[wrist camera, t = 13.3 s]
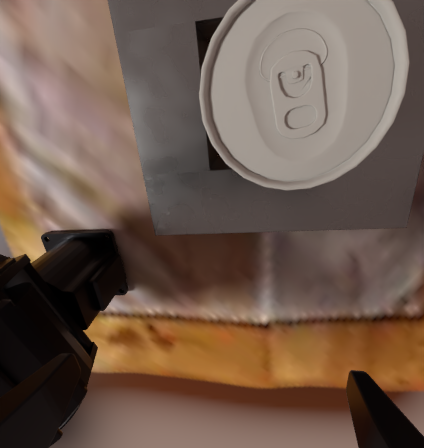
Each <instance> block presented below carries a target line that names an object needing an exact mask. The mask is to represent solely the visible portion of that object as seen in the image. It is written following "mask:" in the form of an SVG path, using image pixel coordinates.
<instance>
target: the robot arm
mask: <svg viewBox="0 0 424 448" xmlns="http://www.w3.org/2000/svg"><path fill="white" fill-rule="evenodd" d="M105 235H107V236H108V237H109V238H107V237H106V236H105ZM47 237H48V238H49V239H48V238H47ZM41 239H42V242H43V244H44V247H45V249H46V253H45V254H43V255H42V256H41V257H39V258H38V259H37V260H35V261H34V262H33V263H30V261H31V260H30V259H29V258H28V256H27V255H26V254H24V255H21V256H19V257H16V258H10V257H6V256H3V255H0V448H49V447H50V446H51V445H52V444H54V443H55V442H56V441H57V440H59V439H60V438H61V436H62V434H63V433H62V431H61V430H60V429H62V428H63V427H64V426H65V424H67V422H68V421H69V420H70V419H71V418H72V416H73V415H74V414H75V412H76V411H77V410H78V408H79V406H80V404H81V403H82V400H83V399H84V398H85V396H86V393H87V384H88V381H89V377H90V374H91V370H92V367H93V363H94V360H95V356H96V352H97V349H98V347H97V346H96V344H95V343H94V342H91V340H90V339H89V338H88V336H87V335H86V334H85V333H84V331H83V330H87V329H88V327H89V326H90V324H91V323H92V321H93V320H94V319H95V317H96V316H97V314H98V313H99V312H100V311H104V310H105V309H106V308H107V306H108V305H109V303H110V302H111V300H112V299H113V297H114V296H115V295H125V294H126V293H127V291H128V285H127V282H126V274H125V270H124V267H123V263H122V259H121V256H120V254H119V252H118V249H117V245H116V242H115V238H114V235H113V233H112V232H111V231H109V230H95V231H66V232H46V233H45V234H43V235H42V236H41ZM122 289H123V290H122ZM346 393H347V398H348V403H349V408H350V412H351V416H352V421H353V425H354V430H355V433H356V438H357V443H358V447H359V448H424V436H423V435H422V434H421V433H420V432H419V431H418V430H417V428H416V427H415V426H414V425H413V424H412V423H411V422H410V421H409V420H408V418H407V417H406V416H405V415H404V414H403V413H402V412H401V411H400V409H399V408H398V407H397V406H396V405H395V404H394V403H393V402H392V400H391V399H390V398H389V397H388V396H387V395H386V394H385V393H384V392H383V390H382V389H381V388H380V387H379V386H378V385H377V384H376V383H375V381H374V380H373V379H372V378H371V377H370V376H369V375H368V374H367V373H366V372H364V371H354V370H351V371H350V372H349V376H348V381H347V387H346Z"/></svg>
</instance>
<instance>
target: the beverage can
mask: <svg viewBox="0 0 424 448" xmlns="http://www.w3.org/2000/svg"><path fill="white" fill-rule="evenodd" d="M409 63H410V61H409V52H408V44H407V36H406V30H405V28H404V25H403V23H402V21H401V18H400V16H399V14H398V11H397V9H396V7H395V4H394V2H393V1H392V0H238V1H237V2H236V3H235V4H234V5H233V6H232V7H231V8H230V9H229V10H228V11H227V13H226V15H225V16H224V18H223V20H222V21H221V23H220V24H219V26H218V28H217V29H216V31H215V33H214V34H213V36H212V38H211V41H210V44H209V47H208V50H207V53H206V56H205V59H204V62H203V65H202V69H201V79H200V90H199V99H200V107H201V114H202V121H203V124H204V126H205V129H206V131H207V134H208V136H209V139H210V141H211V144H212V145H213V147H214V148H215V149H216V151H217V152H218V153H219V155H220V156H221V158H222V159H223V160H224V162H225V163H226V164H227V165H228V166H229V167H231V168H232V169H233V170H234V171H236V172H237V173H238V174H239V175H241V176H242V177H243V178H245V179H247V180H250V181H252V182H254V183H256V184H259V185H261V186H263V187H268V188H274V189H281V190H296V189H307V188H312V187H315V186H318V185H321V184H324V183H327V182H330V181H333V180H335V179H337V178H338V177H340V176H342V175H343V174H345V173H346V172H348V171H350V170H351V169H353V168H355V167H356V166H357V165H358V164H360V163H361V162H362V161H363V160H364V159H365V158H366V157H367V156H368V155H369V154H370V153H371V152H372V151H373V150H374V149H375V148H376V147H377V146H378V144H379V143H380V142H381V140H382V139H383V137H384V136H385V134H386V133H387V131H388V130H389V128H390V127H391V125H392V124H393V123H394V120H395V118H396V115H397V113H398V110H399V108H400V105H401V102H402V100H403V97H404V95H405V90H406V84H407V77H408V70H409Z"/></svg>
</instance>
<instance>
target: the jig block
mask: <svg viewBox="0 0 424 448" xmlns="http://www.w3.org/2000/svg"><path fill="white" fill-rule="evenodd" d="M237 1H238V0H108V4H109V9H110V14H111V19H112V23H113V28H114V33H115V38H116V43H117V48H118V53H119V58H120V63H121V68H122V73H123V78H124V83H125V88H126V93H127V97H128V102H129V107H130V112H131V117H132V122H133V127H134V132H135V137H136V142H137V147H138V152H139V157H140V162H141V167H142V171H143V176H144V181H145V186H146V191H147V196H148V201H149V206H150V211H151V216H152V221H153V226H154V231H155V235H183V234H215V233H248V232H280V231H313V230H345V229H378V228H406V227H407V223H408V219H409V214H410V210H411V206H412V201H413V197H414V193H415V188H416V184H417V179H418V175H419V171H420V166H421V162H422V158H423V153H424V0H392V1H393V2H394V4H395V7H396V9H397V11H398V14H399V16H400V18H401V21H402V23H403V25H404V28H405V30H406V36H407V44H408V52H409V61H410V63H409V70H408V77H407V84H406V90H405V95H404V97H403V100H402V102H401V105H400V108H399V110H398V113H397V115H396V118H395V120H394V123H393V124H392V125H391V127H390V128H389V130H388V131H387V133H386V134H385V136H384V137H383V139H382V140H381V142H380V143H379V144H378V146H377V147H376V148H375V149H374V150H373V151H372V152H371V153H370V154H369V155H368V156H367V157H366V158H365V159H364V160H363V161H362V162H361V163H360V164H358V165H357V166H356V167H355V168H353V169H351V170H350V171H348V172H346V173H345V174H343V175H342V176H340V177H338V178H337V179H335V180H333V181H330V182H327V183H324V184H321V185H318V186H315V187H312V188H307V189H296V190H281V189H274V188H268V187H263V186H261V185H259V184H256V183H254V182H252V181H250V180H247V179H245V178H243V177H242V176H241V175H239V174H238V173H237V172H236V171H234V170H233V169H232V168H231V167H229V166H228V165H227V164H226V163H225V162H224V160H223V159H222V158H217V153H216V149H215V148H214V147H213V145H212V144H211V141H210V139H209V136H208V134H207V131H206V129H205V126H204V124H203V121H202V114H201V107H200V99H199V90H200V79H201V69H202V65H203V62H204V59H205V56H206V53H207V50H208V47H207V40H210V39H211V38H212V36H213V34H214V33H215V31H216V29H217V28H218V26H219V24H220V23H221V21H222V20H223V18H224V16H225V15H226V13H227V11H228V10H229V9H230V8H231V7H232V6H233V5H234V4H235V3H236V2H237Z"/></svg>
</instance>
